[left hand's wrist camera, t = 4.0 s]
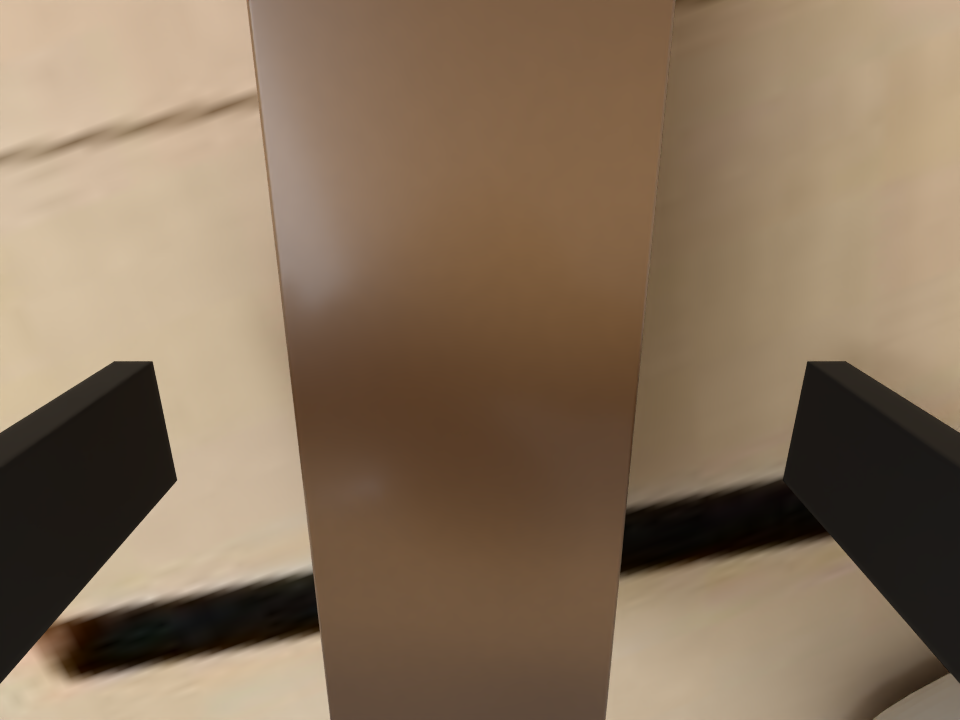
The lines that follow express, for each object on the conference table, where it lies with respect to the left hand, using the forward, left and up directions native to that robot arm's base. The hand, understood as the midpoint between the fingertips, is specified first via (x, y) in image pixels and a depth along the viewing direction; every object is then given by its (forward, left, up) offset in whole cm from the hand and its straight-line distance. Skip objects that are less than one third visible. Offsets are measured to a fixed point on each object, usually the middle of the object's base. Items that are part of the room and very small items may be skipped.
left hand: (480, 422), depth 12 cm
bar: (+19, +9, -4) cm, 21 cm away
